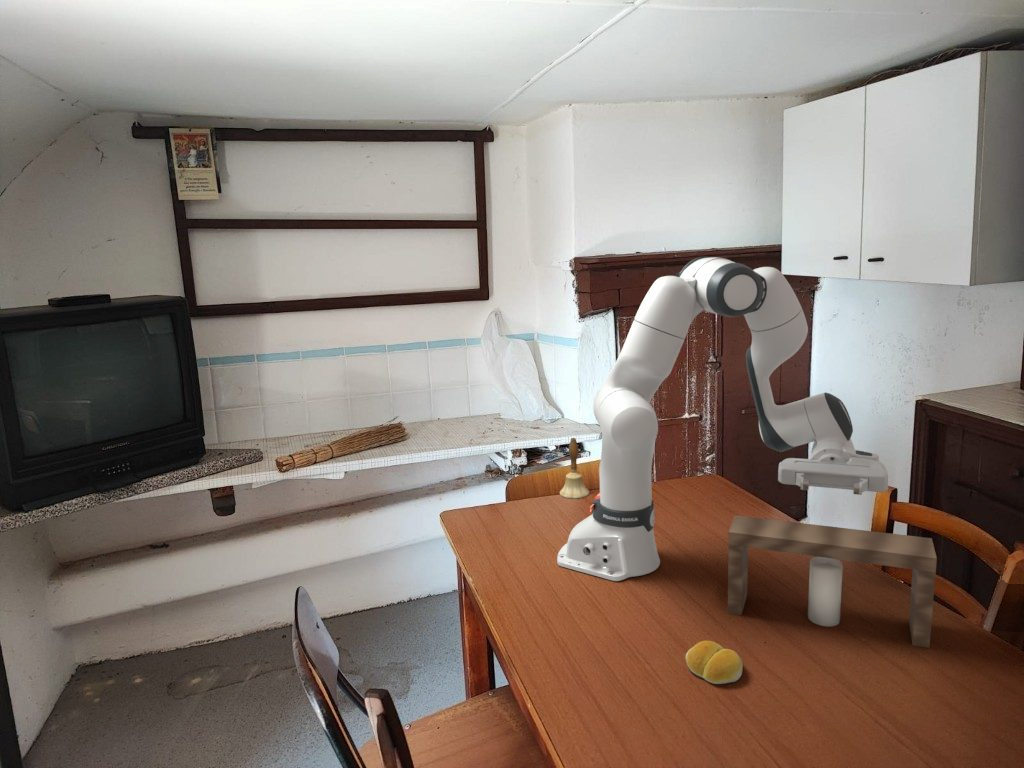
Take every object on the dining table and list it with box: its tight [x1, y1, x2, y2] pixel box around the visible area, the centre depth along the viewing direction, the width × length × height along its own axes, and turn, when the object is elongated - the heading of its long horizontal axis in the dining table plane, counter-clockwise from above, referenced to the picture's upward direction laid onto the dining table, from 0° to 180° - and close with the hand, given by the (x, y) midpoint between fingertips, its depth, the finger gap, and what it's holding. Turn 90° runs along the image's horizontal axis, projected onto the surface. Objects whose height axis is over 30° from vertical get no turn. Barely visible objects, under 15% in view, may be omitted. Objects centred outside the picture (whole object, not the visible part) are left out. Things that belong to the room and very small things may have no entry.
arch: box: [727, 515, 938, 649], centre depth 128 cm, size 33×8×16 cm, turn 65°
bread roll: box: [685, 640, 744, 685], centre depth 117 cm, size 8×9×4 cm
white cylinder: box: [807, 556, 843, 628], centre depth 128 cm, size 5×5×11 cm
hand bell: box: [559, 437, 590, 499], centre depth 195 cm, size 8×8×16 cm
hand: (830, 488), depth 137 cm, fingers open, 8 cm apart
